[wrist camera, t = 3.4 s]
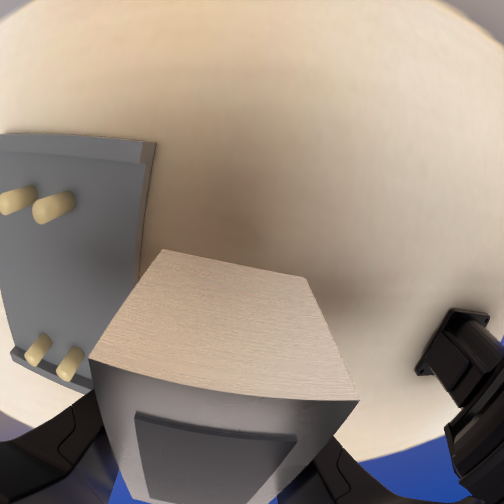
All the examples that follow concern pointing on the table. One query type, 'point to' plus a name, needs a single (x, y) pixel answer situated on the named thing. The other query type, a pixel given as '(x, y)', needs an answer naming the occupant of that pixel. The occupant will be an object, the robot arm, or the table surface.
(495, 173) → the table surface
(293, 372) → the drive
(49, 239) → the tray
